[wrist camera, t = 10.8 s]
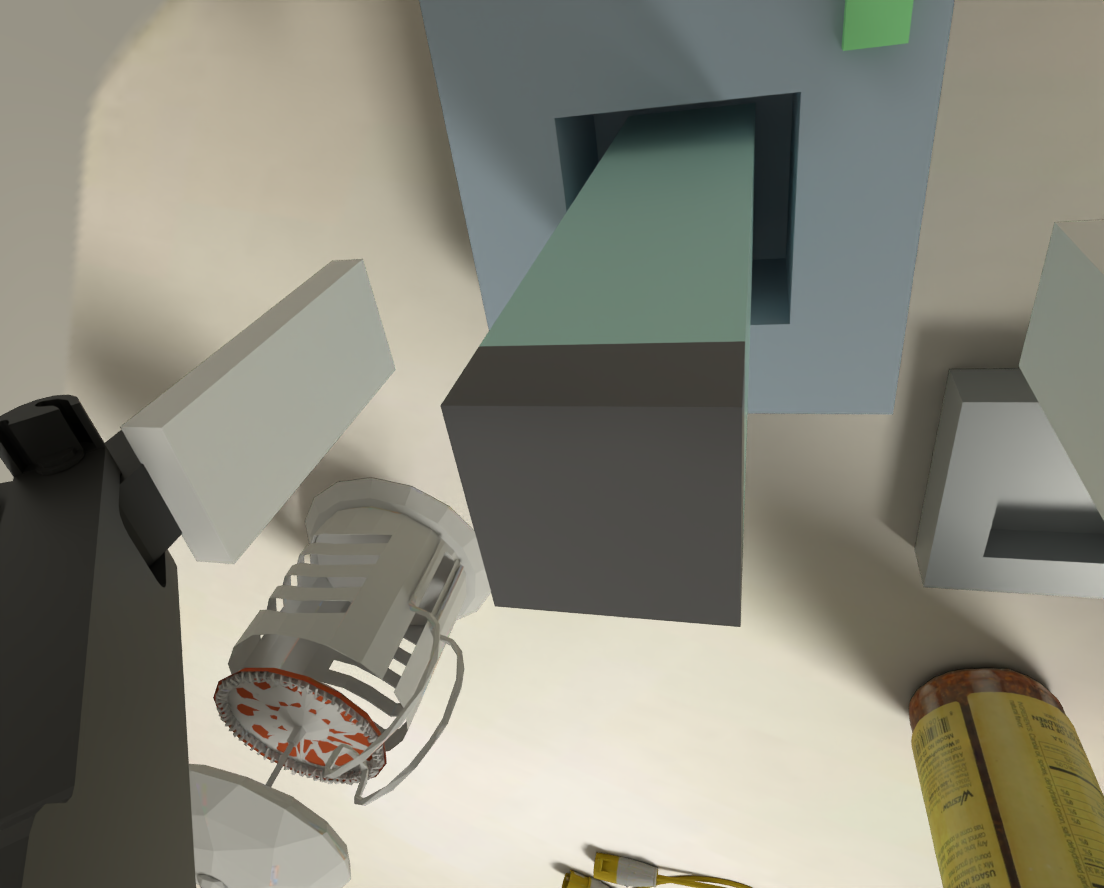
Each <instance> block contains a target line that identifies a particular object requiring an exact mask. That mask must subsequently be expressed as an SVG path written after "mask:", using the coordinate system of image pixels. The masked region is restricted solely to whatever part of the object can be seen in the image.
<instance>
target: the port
mask: <svg viewBox="0 0 1104 888" xmlns="http://www.w3.org/2000/svg"><path fill="white" fill-rule="evenodd" d="M419 2H420V7H421V12H422V16H423V21H424V26H425V31H426V35H427V40H428V45H429V49H430V54H431V59H432V64H433V68H434V73H435V78H436V82H437V87H438V92H439V97H440V101H441V106H442V111H443V116H444V120H445V125H446V130H447V134H448V139H449V144H450V149H451V153H452V158H453V163H454V168H455V172H456V177H457V182H458V186H459V191H460V196H461V201H462V205H463V210H464V215H465V220H466V224H467V229H468V234H469V238H470V243H471V248H472V253H473V257H474V262H475V267H476V272H477V276H478V281H479V286H480V290H481V295H482V300H483V305H484V309H485V314H486V319H487V323H488V328H489V331H490V329H491V327H492V326H493V324H494V323H495V321H496V320H497V318H498V317H499V315H500V314H501V312H502V311H503V309H504V307H505V306H506V304H507V303H508V301H509V300H510V298H511V297H512V295H513V294H514V292H515V291H516V289H517V288H518V286H519V284H520V283H521V281H522V280H523V278H524V277H525V275H526V274H527V272H528V271H529V269H530V268H531V266H532V264H533V263H534V261H535V260H536V258H537V257H538V255H539V254H540V252H541V251H542V249H543V248H544V246H545V244H546V243H547V241H548V240H549V238H550V237H551V235H552V234H553V232H554V231H555V229H556V228H557V226H558V225H559V223H560V221H561V220H562V218H563V217H564V215H565V214H566V212H567V211H568V209H569V208H570V206H571V205H572V203H573V201H574V200H575V198H576V197H577V195H578V194H579V192H580V191H581V189H582V188H583V186H584V185H585V183H586V181H587V180H588V178H589V177H590V175H591V174H592V172H593V171H594V169H595V168H596V166H597V165H598V163H599V162H600V160H601V158H602V157H603V155H604V154H605V152H606V151H607V149H608V148H609V146H610V145H611V143H612V142H613V140H614V138H615V137H616V135H617V134H618V132H619V131H620V129H621V128H622V126H623V125H624V123H625V122H626V120H627V118H628V117H629V116H632V115H641V114H651V113H660V112H670V111H679V110H689V109H698V108H708V107H717V106H727V105H736V104H746V103H755V102H756V105H755V168H754V229H753V260H752V290H751V320H750V351H749V381H748V412H747V413H769V414H893V410H894V404H895V397H896V390H897V383H898V377H899V370H900V363H901V357H902V350H903V343H904V336H905V330H906V323H907V316H908V310H909V303H910V296H911V289H912V283H913V276H914V269H915V262H916V256H917V249H918V242H919V236H920V229H921V222H922V215H923V209H924V202H925V195H926V189H927V182H928V175H929V168H930V162H931V155H932V148H933V141H934V135H935V128H936V121H937V115H938V108H939V101H940V94H941V88H942V81H943V74H944V68H945V61H946V54H947V47H948V41H949V34H950V27H951V20H952V14H953V7H954V0H419Z"/></svg>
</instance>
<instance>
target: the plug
mask: <svg viewBox="0 0 1104 888" xmlns="http://www.w3.org/2000/svg"><path fill="white" fill-rule="evenodd" d="M755 105H756V102H755V103H746V104H736V105H727V106H717V107H708V108H698V109H689V110H679V111H670V112H660V113H651V114H641V115H632V116H629V117H628V118H627V120H626V122H625V123H624V125H623V126H622V128H621V129H620V131H619V132H618V134H617V135H616V137H615V138H614V140H613V142H612V143H611V145H610V146H609V148H608V149H607V151H606V152H605V154H604V155H603V157H602V158H601V160H600V162H599V163H598V165H597V166H596V168H595V169H594V171H593V172H592V174H591V175H590V177H589V178H588V180H587V181H586V183H585V185H584V186H583V188H582V189H581V191H580V192H579V194H578V195H577V197H576V198H575V200H574V201H573V203H572V205H571V206H570V208H569V209H568V211H567V212H566V214H565V215H564V217H563V218H562V220H561V221H560V223H559V225H558V226H557V228H556V229H555V231H554V232H553V234H552V235H551V237H550V238H549V240H548V241H547V243H546V244H545V246H544V248H543V249H542V251H541V252H540V254H539V255H538V257H537V258H536V260H535V261H534V263H533V264H532V266H531V268H530V269H529V271H528V272H527V274H526V275H525V277H524V278H523V280H522V281H521V283H520V284H519V286H518V288H517V289H516V291H515V292H514V294H513V295H512V297H511V298H510V300H509V301H508V303H507V304H506V306H505V307H504V309H503V311H502V312H501V314H500V315H499V317H498V318H497V320H496V321H495V323H494V324H493V326H492V327H491V329H490V331H489V332H488V334H487V335H486V337H485V338H484V340H483V341H482V343H481V344H480V346H479V347H478V349H477V351H476V352H475V354H474V355H473V357H472V358H471V360H470V361H469V363H468V364H467V366H466V367H465V369H464V370H463V372H462V374H461V375H460V377H459V378H458V380H457V381H456V383H455V384H454V386H453V387H452V389H451V390H450V392H449V394H448V395H447V397H446V398H445V400H444V401H443V403H442V404H441V409H442V413H443V417H444V420H445V424H446V428H447V431H448V435H449V439H450V442H451V446H452V450H453V453H454V457H455V461H456V464H457V468H458V472H459V476H460V479H461V483H462V487H463V490H464V494H465V498H466V501H467V505H468V509H469V512H470V516H471V520H472V523H473V527H474V531H475V535H476V538H477V542H478V546H479V549H480V553H481V557H482V560H483V564H484V568H485V571H486V575H487V579H488V582H489V586H490V590H491V594H492V597H493V601H494V605H495V606H498V607H510V608H522V609H533V610H545V611H557V612H569V613H581V614H593V615H605V616H617V617H628V618H640V619H652V620H664V621H676V622H688V623H700V624H712V625H723V626H735V627H740V625H741V595H742V564H743V534H744V503H745V473H746V442H747V412H748V381H749V351H750V320H751V290H752V260H753V229H754V168H755Z"/></svg>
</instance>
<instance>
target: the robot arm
mask: <svg viewBox="0 0 1104 888" xmlns="http://www.w3.org/2000/svg"><path fill="white" fill-rule="evenodd" d="M1019 367H1020V369H1021V371H1022V373H1023V375H1024V377H1025V378H1026V380H1027V382H1028V384H1029V386H1030V388H1031V389H1032V391H1033V393H1034V395H1035V397H1036V398H1037V400H1038V402H1039V404H1040V406H1041V408H1042V409H1043V411H1044V413H1045V415H1046V417H1047V419H1048V420H1049V422H1050V424H1051V426H1052V428H1053V429H1054V431H1055V433H1056V435H1057V437H1058V439H1059V440H1060V442H1061V444H1062V446H1063V448H1064V449H1065V451H1066V453H1067V455H1068V457H1069V459H1070V460H1071V462H1072V464H1073V466H1074V468H1075V470H1076V471H1077V473H1078V475H1079V477H1080V479H1081V480H1082V482H1083V484H1084V486H1085V488H1086V490H1087V491H1088V493H1089V495H1090V497H1091V499H1092V501H1093V502H1094V504H1095V506H1096V508H1097V510H1098V511H1099V513H1100V515H1101V517H1102V519H1103V521H1104V219H1103V220H1084V221H1065V222H1055V223H1054V227H1053V231H1052V235H1051V239H1050V243H1049V247H1048V251H1047V255H1046V259H1045V263H1044V267H1043V271H1042V275H1041V279H1040V283H1039V287H1038V291H1037V295H1036V299H1035V303H1034V307H1033V311H1032V315H1031V319H1030V323H1029V326H1028V330H1027V334H1026V338H1025V342H1024V346H1023V350H1022V354H1021V358H1020V362H1019ZM395 370H396V369H395V365H394V362H393V359H392V355H391V352H390V349H389V345H388V342H387V338H386V335H385V332H384V328H383V325H382V322H381V318H380V315H379V312H378V308H377V305H376V302H375V298H374V295H373V291H372V288H371V285H370V281H369V278H368V275H367V271H366V268H365V265H364V261H363V259H353V260H335V261H331V262H330V263H328V264H327V265H326V266H325V267H323V268H322V269H321V270H320V271H318V272H317V273H316V274H314V275H313V276H312V277H311V278H309V279H308V280H307V281H306V282H304V283H303V284H302V285H300V286H299V287H298V288H297V289H295V290H294V291H293V292H292V293H290V294H289V295H288V296H286V297H285V298H284V299H283V300H281V301H280V302H279V303H277V304H276V305H275V306H274V307H272V308H271V309H270V310H269V311H267V312H266V313H265V314H263V315H262V316H261V317H260V318H258V319H257V320H256V321H255V322H253V323H252V324H251V325H249V326H248V327H247V328H246V329H244V330H243V331H242V332H240V333H239V334H238V335H237V336H235V337H234V338H233V339H232V340H230V341H229V342H228V343H226V344H225V345H224V346H223V347H221V348H220V349H219V350H218V351H216V352H215V353H214V354H212V355H211V356H210V357H209V358H207V359H206V360H205V361H204V362H202V363H201V364H200V365H198V366H197V367H196V368H195V369H193V370H192V371H191V372H189V373H188V374H187V375H186V376H184V377H183V378H182V379H181V380H179V381H178V382H177V383H175V384H174V385H173V386H172V387H170V388H169V389H168V390H167V391H165V392H164V393H163V394H161V395H160V396H159V397H158V398H156V399H155V400H154V401H153V402H151V403H150V404H149V405H147V406H146V407H145V408H144V409H142V410H141V411H140V412H138V413H137V414H136V415H135V416H133V417H132V418H131V419H130V420H128V421H127V422H126V423H124V424H123V425H122V426H121V427H120V428H121V429H122V430H121V431H119V432H118V433H117V434H115V435H114V436H113V437H112V438H110V439H109V440H108V441H107V442H105V443H104V442H103V440H102V438H101V436H100V435H99V433H98V431H97V430H96V428H95V426H94V425H93V423H92V421H91V420H90V418H89V416H88V415H87V413H86V411H85V409H84V408H83V406H82V404H81V403H80V401H79V399H78V398H77V397H75V396H71V395H57V396H51V397H46V398H42V399H39V400H35V401H32V402H30V403H27V404H24V405H21V406H19V407H17V408H15V409H13V410H11V411H9V412H7V413H5V414H3V415H2V416H0V458H1V459H2V461H3V462H4V464H5V465H6V467H7V468H8V469H9V470H10V472H11V474H12V475H13V476H14V479H13V481H11V482H5V483H0V888H196V879H195V862H194V845H193V828H192V811H191V795H190V778H189V761H188V744H187V727H186V711H185V694H184V677H183V660H182V643H181V627H180V610H179V593H178V576H177V566H176V564H175V562H174V559H173V558H172V556H171V554H170V553H169V551H168V548H169V547H170V546H171V545H172V544H173V543H174V542H175V541H176V540H177V538H178V537H179V536H180V535H182V537H183V538H184V540H185V542H186V544H187V545H188V547H189V549H190V551H191V552H192V554H193V556H194V558H195V559H196V561H201V562H213V563H225V564H235V563H236V561H237V560H238V559H239V558H240V557H241V555H242V554H243V553H244V552H245V551H246V549H247V548H248V547H249V546H250V545H251V543H252V542H253V541H254V540H255V539H256V537H257V536H258V535H259V534H260V533H261V531H262V530H263V529H264V528H265V526H266V525H267V524H268V523H269V522H270V520H271V519H272V518H273V517H274V516H275V514H276V513H277V512H278V511H279V510H280V508H281V507H282V506H283V505H284V504H285V502H286V501H287V500H288V499H289V498H290V496H291V495H292V494H293V493H294V491H295V490H296V489H297V488H298V487H299V485H300V484H301V483H302V482H303V481H304V479H305V478H306V477H307V476H308V475H309V473H310V472H311V471H312V470H313V469H314V467H315V466H316V465H317V464H318V463H319V461H320V460H321V459H322V458H323V457H324V455H325V454H326V453H327V452H328V450H329V449H330V448H331V447H332V446H333V444H334V443H335V442H336V441H337V440H338V438H339V437H340V436H341V435H342V434H343V432H344V431H345V430H346V429H347V428H348V426H349V425H350V424H351V423H352V422H353V420H354V419H355V418H356V417H357V416H358V414H359V413H360V412H361V411H362V409H363V408H364V407H365V406H366V405H367V403H368V402H369V401H370V400H371V399H372V397H373V396H374V395H375V394H376V393H377V391H378V390H379V389H380V388H381V387H382V385H383V384H384V383H385V382H386V381H387V379H388V378H389V377H390V376H391V374H392V373H393V372H394V371H395Z"/></svg>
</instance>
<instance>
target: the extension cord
mask: <svg viewBox="0 0 1104 888" xmlns="http://www.w3.org/2000/svg"><path fill="white" fill-rule="evenodd" d="M570 872H571V873H570V874H569V873H566V874H565V877H564V880H563V884H562V888H610V887H609V886H607V885H606V884H604V883H602V882H601V881H600V880H603V881H607V882H611V883H615V884H620V885H624V886H626V887H627V888H628V886H634V887H636V888H650V887H656V886H657V885H660V884H666V883H674V884H679V885H685V886H690V887H695V888H725V887H720V886H715V885H710V884H705V883H700V882H711V883H719V884H724V885H729V886H733V887H736V888H752V887H749V886H747V885H744V884H741V883H737V882H734V881H730V880H725V879H720V878H713V877H703V876H678V877H668V876H663V875H658V867H654V866H651V865H649V864H646V863H643V862H639V861H636V860H632V859H630V858H625V857H620V856H614V855H609V854H604V853H598V852H597V853H596V857H595V863H594V872H593V873H594V878H596V879H600V880H596V879H594V878H592V877H589V876H588V877H586V876H584V875H581V874H579V873H577V872H575V871H572V870H570ZM695 881H700V882H695Z"/></svg>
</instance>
